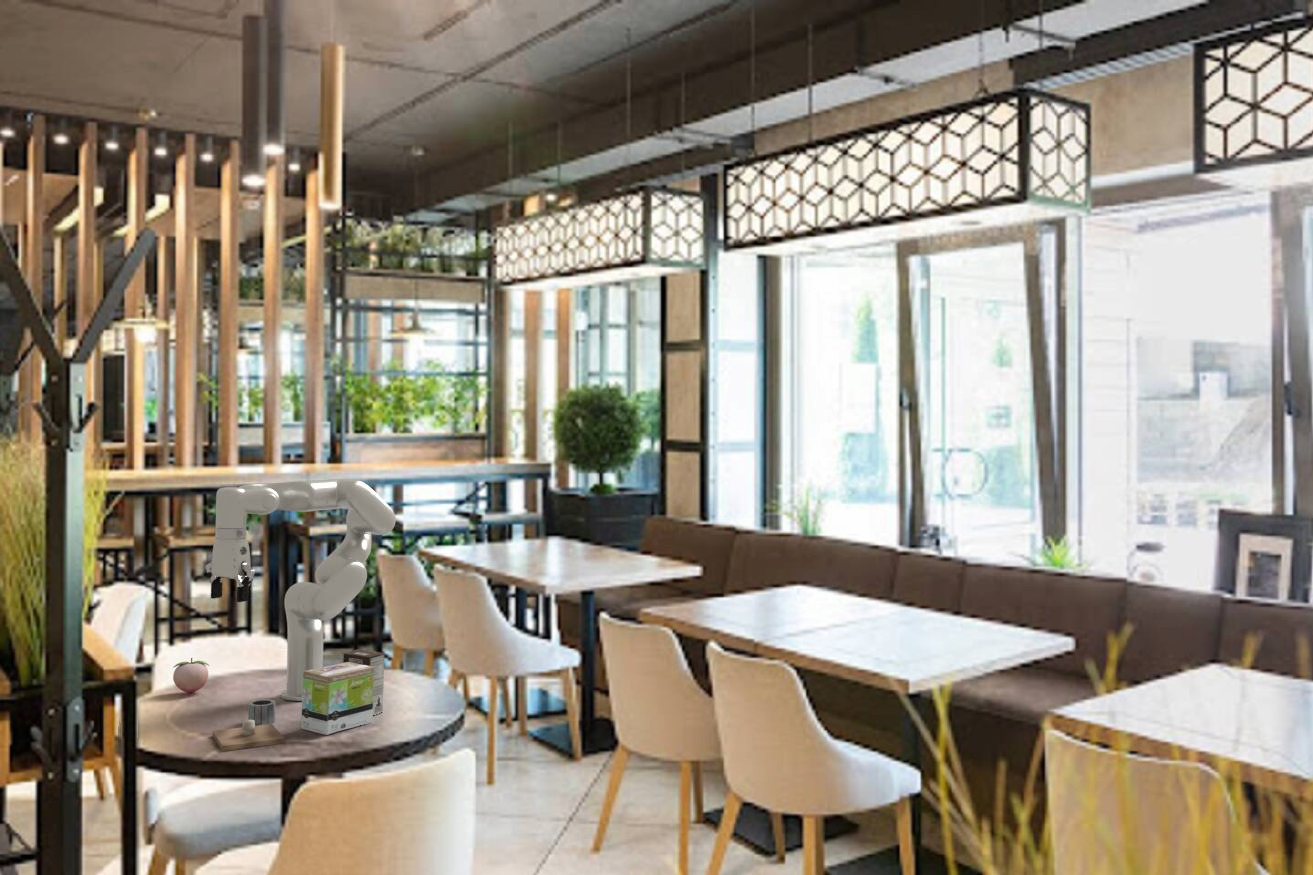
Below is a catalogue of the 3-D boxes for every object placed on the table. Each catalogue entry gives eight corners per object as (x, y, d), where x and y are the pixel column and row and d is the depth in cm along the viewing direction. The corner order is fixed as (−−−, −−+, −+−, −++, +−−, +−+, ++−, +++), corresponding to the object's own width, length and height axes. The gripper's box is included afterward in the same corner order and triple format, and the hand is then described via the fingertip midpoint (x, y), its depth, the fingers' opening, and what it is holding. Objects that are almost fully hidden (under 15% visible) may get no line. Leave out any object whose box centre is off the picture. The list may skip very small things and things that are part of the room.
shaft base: (271, 728, 277) (272, 710, 277) (284, 743, 265) (285, 724, 265) (212, 735, 270) (212, 717, 270) (222, 751, 258) (223, 732, 258)
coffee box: (340, 713, 292) (341, 652, 292) (357, 708, 298) (357, 648, 298) (368, 718, 288) (369, 656, 288) (384, 712, 294) (385, 652, 294)
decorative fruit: (178, 699, 303) (178, 662, 303) (169, 693, 310) (170, 657, 310) (213, 694, 309) (214, 658, 309) (204, 688, 316) (204, 653, 315)
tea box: (328, 736, 272) (329, 676, 271) (300, 729, 277) (301, 670, 277) (374, 722, 284) (375, 665, 284) (346, 716, 290) (347, 660, 289)
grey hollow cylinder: (272, 717, 287) (272, 698, 287) (277, 723, 282) (277, 703, 282) (246, 720, 284) (246, 701, 284) (251, 726, 278) (251, 706, 278)
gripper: (265, 535, 290) (263, 601, 291) (219, 531, 299) (218, 594, 299) (242, 537, 284) (240, 604, 284) (196, 533, 292) (194, 598, 292)
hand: (229, 599), depth 291 cm, fingers open, 9 cm apart
